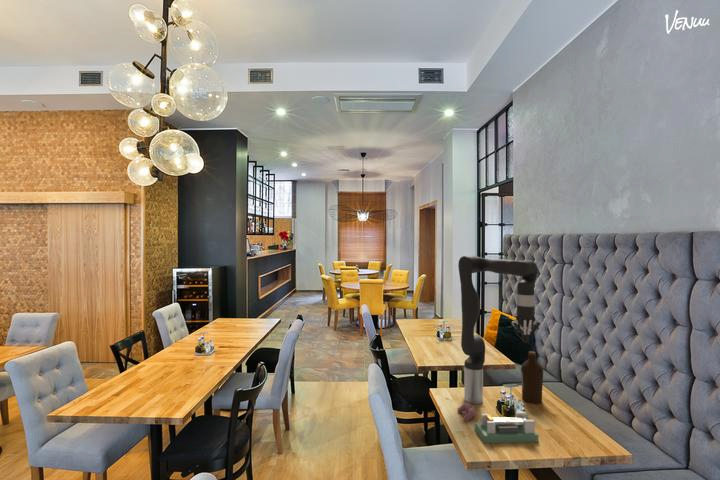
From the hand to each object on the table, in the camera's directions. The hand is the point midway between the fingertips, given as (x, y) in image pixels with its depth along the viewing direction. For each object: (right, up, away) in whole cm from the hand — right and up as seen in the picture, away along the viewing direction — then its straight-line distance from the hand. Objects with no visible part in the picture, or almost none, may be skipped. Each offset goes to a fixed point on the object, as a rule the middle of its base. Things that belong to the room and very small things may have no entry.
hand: (525, 342), depth 167 cm
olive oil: (+15, -37, +26) cm, 48 cm away
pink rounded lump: (-25, -37, +7) cm, 45 cm away
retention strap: (-12, -32, -10) cm, 35 cm away
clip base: (-13, -37, -10) cm, 40 cm away
